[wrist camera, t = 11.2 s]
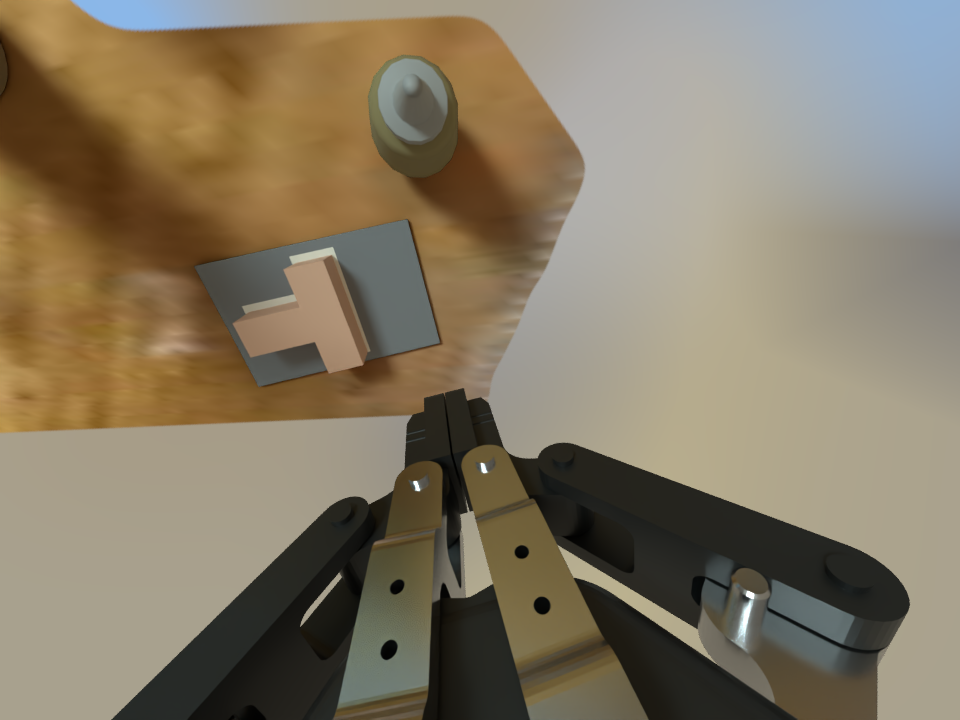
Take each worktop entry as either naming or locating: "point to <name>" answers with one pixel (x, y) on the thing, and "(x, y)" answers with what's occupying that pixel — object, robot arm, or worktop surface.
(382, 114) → the squeeze bottle
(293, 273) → the T-block
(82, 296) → the worktop surface
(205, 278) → the mat
